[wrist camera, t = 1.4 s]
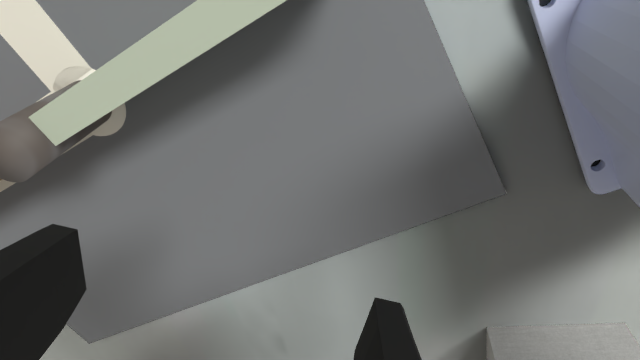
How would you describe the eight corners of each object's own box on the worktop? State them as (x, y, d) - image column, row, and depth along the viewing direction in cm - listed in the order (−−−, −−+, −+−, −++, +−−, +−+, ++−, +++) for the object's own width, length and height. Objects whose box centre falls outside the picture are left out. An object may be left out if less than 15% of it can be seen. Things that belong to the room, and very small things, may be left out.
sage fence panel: (345, -43, 14) (335, -31, 11) (116, 103, 18) (55, 146, 15) (327, -79, 14) (310, -79, 10) (96, 78, 17) (28, 117, 14)
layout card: (504, 190, 19) (506, 194, 18) (91, 339, 28) (88, 344, 28) (113, -724, 9) (104, -746, 8) (-320, -15, 18) (-332, -14, 18)
